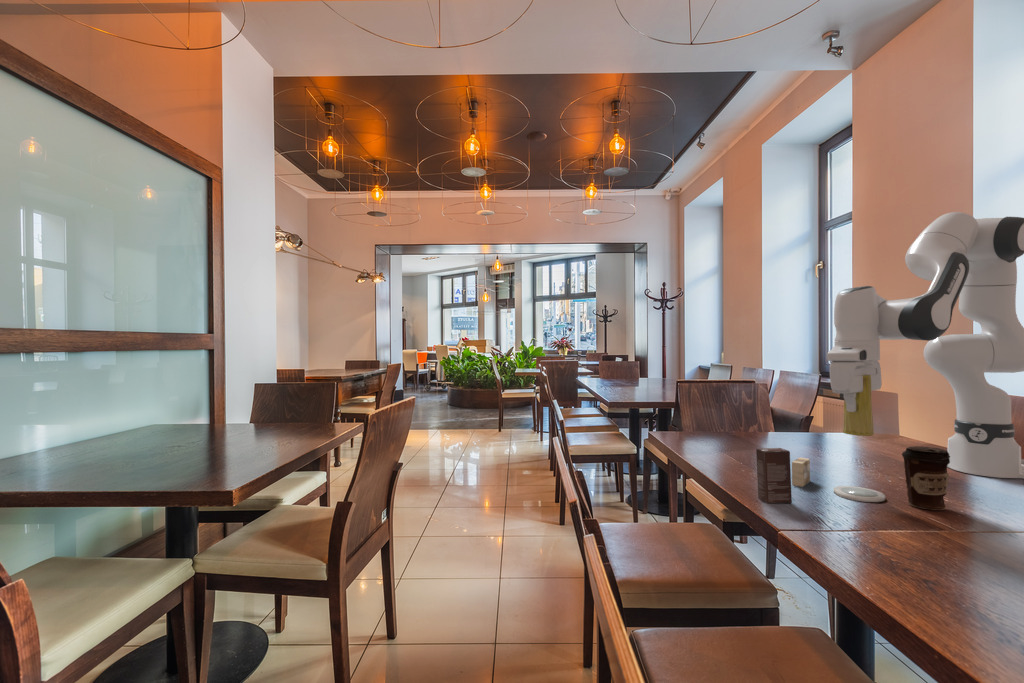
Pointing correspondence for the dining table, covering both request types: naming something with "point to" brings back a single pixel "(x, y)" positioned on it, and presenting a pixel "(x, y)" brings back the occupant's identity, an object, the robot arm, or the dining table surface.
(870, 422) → the vase
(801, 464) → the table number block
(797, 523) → the dining table surface
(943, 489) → the coffee cup
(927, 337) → the robot arm
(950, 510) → the dining table surface
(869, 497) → the coaster
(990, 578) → the dining table surface
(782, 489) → the box
